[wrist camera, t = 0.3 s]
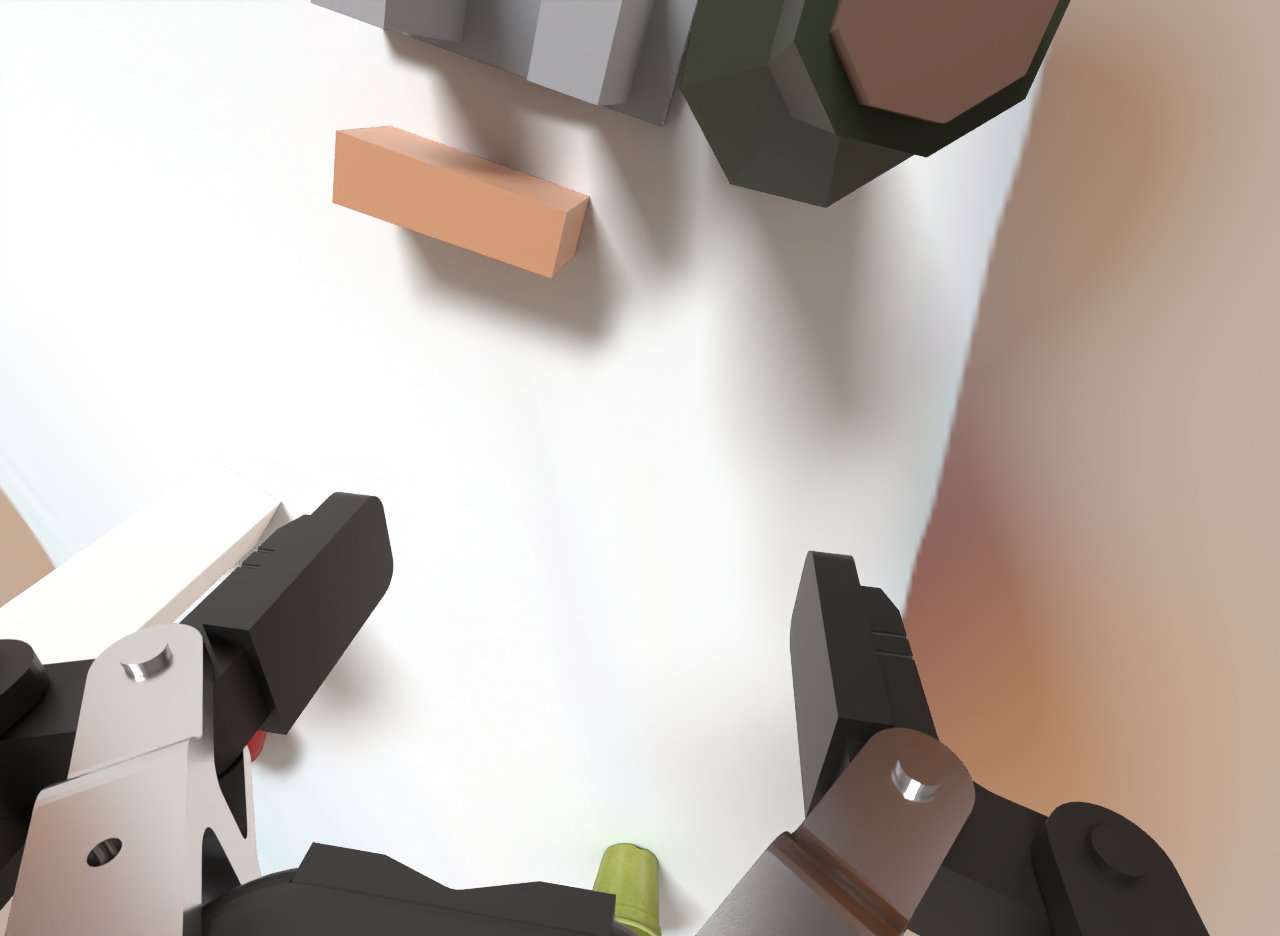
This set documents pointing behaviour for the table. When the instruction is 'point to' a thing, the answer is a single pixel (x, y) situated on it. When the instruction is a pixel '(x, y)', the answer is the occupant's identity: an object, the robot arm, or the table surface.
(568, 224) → the rectangular block
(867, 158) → the wine bottle
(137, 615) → the milk
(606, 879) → the plant pot
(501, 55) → the stand
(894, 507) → the table surface
